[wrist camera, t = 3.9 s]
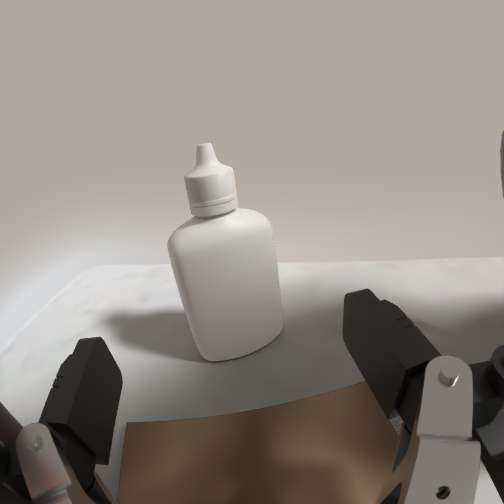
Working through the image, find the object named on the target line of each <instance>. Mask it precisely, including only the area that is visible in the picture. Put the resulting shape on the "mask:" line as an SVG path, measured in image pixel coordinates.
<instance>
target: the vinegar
mask: <svg viewBox="0 0 504 504" xmlns="http://www.w3.org/2000/svg"><path fill="white" fill-rule="evenodd" d="M22 429H23V427H22V425H21V424H20V423H19V422H18V421H17V420H16V419H15V418H14V417H13V416H12V415H11V414H10V412H9V411H8V410H7V409H6V408H5V407H4V406H3V404H2V403H1V402H0V441H1V442H7V441H13V440H16V439H17V437H18V435H19V433H20V432H21V430H22ZM12 496H13V491H11V490H10V489H8V488H7V487H6V486H4V485H3V486H2V491H1V497H0V504H11V502H12Z"/></svg>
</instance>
